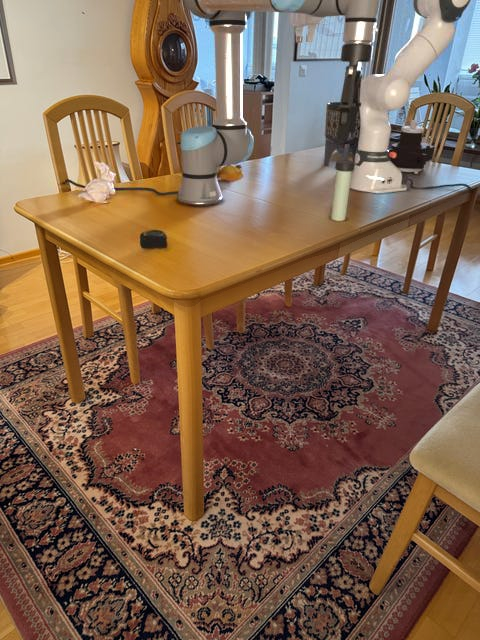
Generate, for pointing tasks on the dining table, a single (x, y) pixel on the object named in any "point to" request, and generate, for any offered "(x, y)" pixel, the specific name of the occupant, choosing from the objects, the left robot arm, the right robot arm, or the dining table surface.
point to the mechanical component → (411, 149)
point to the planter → (332, 131)
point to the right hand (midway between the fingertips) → (304, 42)
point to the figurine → (99, 185)
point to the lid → (345, 165)
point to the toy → (230, 173)
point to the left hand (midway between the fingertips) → (346, 135)
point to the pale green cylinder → (341, 195)
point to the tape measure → (153, 239)
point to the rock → (341, 150)
